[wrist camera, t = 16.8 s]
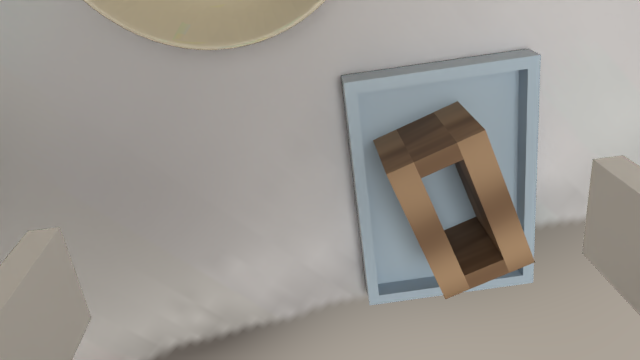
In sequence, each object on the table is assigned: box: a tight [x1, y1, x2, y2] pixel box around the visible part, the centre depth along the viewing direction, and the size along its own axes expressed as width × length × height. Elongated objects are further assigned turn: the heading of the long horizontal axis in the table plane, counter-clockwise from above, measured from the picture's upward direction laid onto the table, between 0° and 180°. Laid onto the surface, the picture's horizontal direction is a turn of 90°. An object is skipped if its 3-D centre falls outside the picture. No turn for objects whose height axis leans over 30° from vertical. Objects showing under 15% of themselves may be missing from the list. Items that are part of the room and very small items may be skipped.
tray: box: [341, 49, 541, 305], centre depth 40 cm, size 13×18×2 cm
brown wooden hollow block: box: [373, 101, 535, 299], centre depth 38 cm, size 12×6×6 cm, turn 26°
